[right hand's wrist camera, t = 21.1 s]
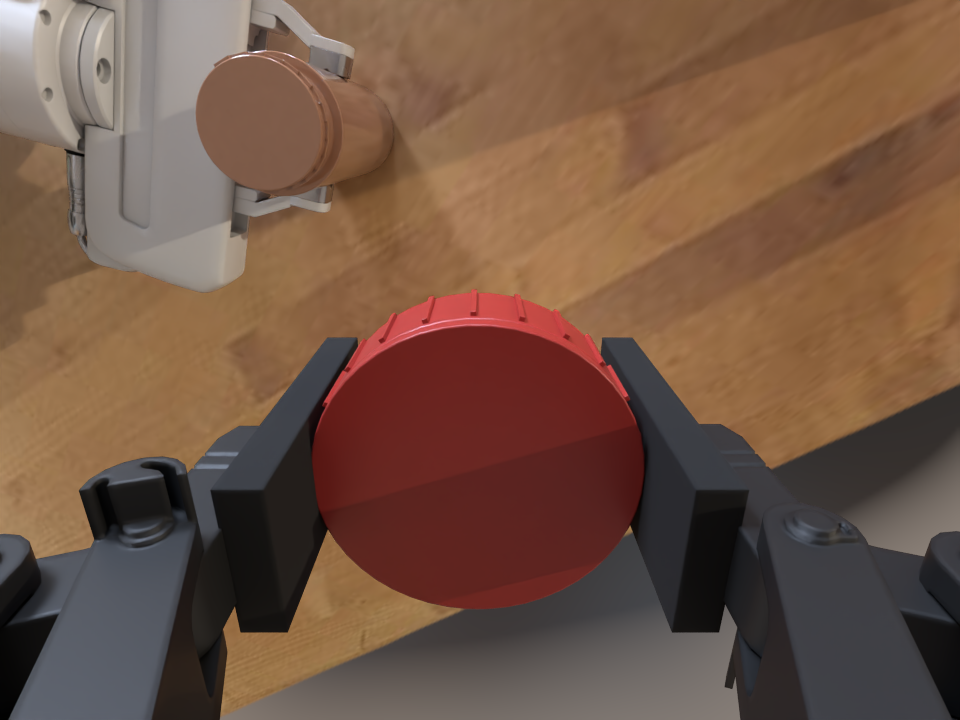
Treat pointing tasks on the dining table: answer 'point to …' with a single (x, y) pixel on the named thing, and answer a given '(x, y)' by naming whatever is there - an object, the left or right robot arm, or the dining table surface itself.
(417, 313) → the lid
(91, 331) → the dining table surface
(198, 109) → the jar
